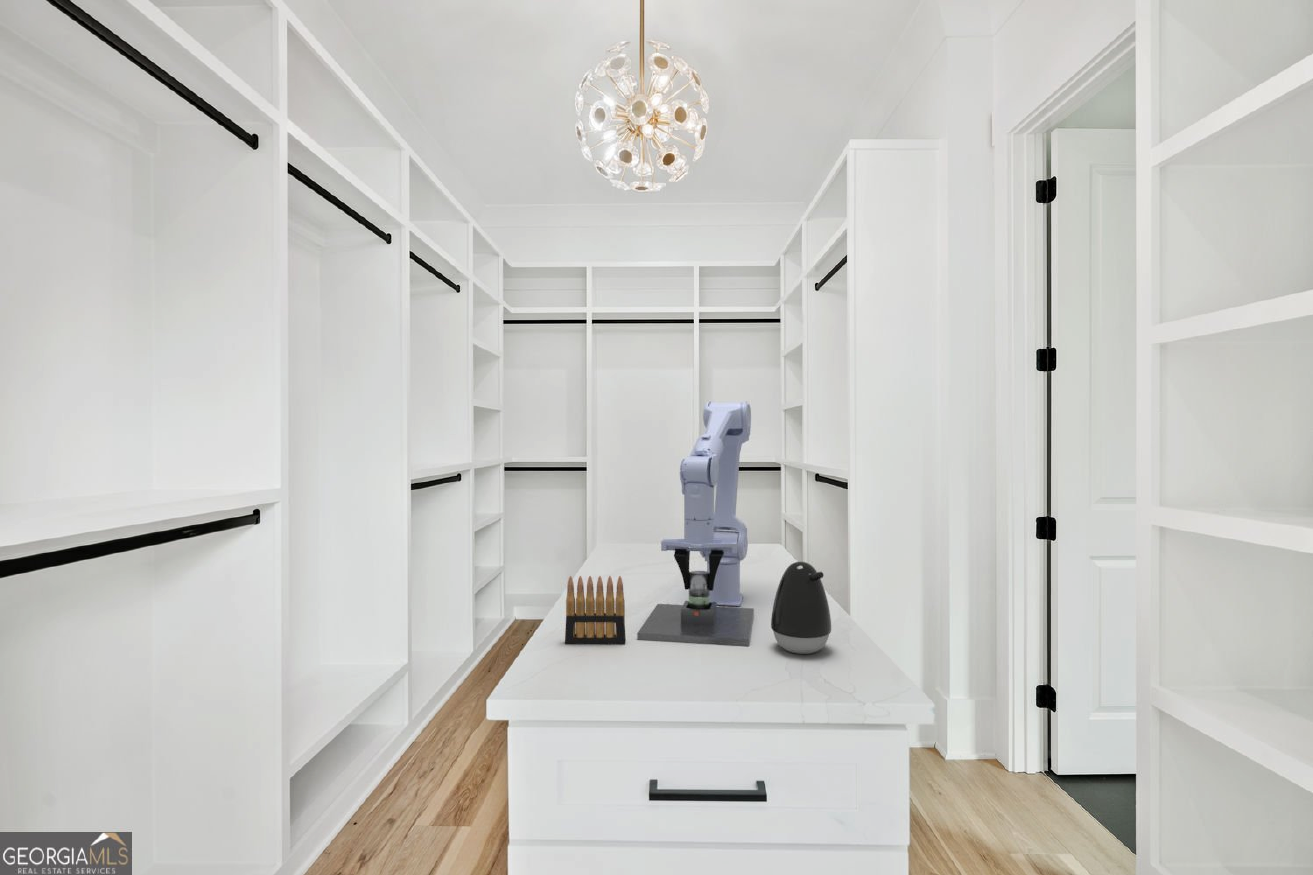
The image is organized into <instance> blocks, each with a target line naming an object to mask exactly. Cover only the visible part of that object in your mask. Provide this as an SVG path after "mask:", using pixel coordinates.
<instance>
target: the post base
mask: <svg viewBox="0 0 1313 875" xmlns="http://www.w3.org/2000/svg"><path fill="white" fill-rule="evenodd" d="M754 615H755V608H754V607H753V608H751V607H750V608H749V607H735V606H734V607H733V606H732V607H728V606H718V605H717V602H710V607H709V608H707V609H693V608H689V600H685V601H684V602H683V604H670V603H657V604H656V605H655V607H654V608H653V610H652V611H651V613H650V614H649V616H648V617H647V618H646V620H645V621H644V623H643V624H642V626H641V627H640V628H639V630H638V632H637V634H636V635H637V640H639V641H640V640H641V641H654V642H655V641H656V642H658V641H659V642H673V643H674V642H676V643H691V644H706V645H707V644H709V645H723V646H740V647H750V642H751V641H750V640H751V635H752V634H751V633H752V629H753V623H754Z"/></svg>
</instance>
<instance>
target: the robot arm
mask: <svg viewBox="0 0 1313 875" xmlns="http://www.w3.org/2000/svg"><path fill="white" fill-rule="evenodd" d="M702 413H703V415H702V418H703V425H704V427H705V432H704V433H703V434H701V435H699V436H698V437H697V439H696V441H695V443H694V446H693V448H692V450H691V452H690V454H689V455H687V456H686V457H685V458H682V459H681V462H680V464H679V465H680V467H679V468H680V469H679V478H680V480H679V481H680V483H681V493H682V495H683V510H684V511H683V513H684V514H683V518H684V519H683V521H684V523H683V524H684V525H683V526H684V528H683V532H684V533H683V534H684V535H683V537H684V538H676V539H675V538H674V539H673V538H672V539H671V538H670V539H669V538H668V539H666V538H663V539H662V540H661V541H660V543H661V544H660V545H661V546H660V550H661V552H667V551H674V554H673V557H674V560H675V562H676V564H677V566H678V568H679V570H680V574H681V577H682V581H683V586H684V590H686V591H687V590H688V591H689V572H690V555H691V552H699V554H700V556H701V558H703V559H704V562H706V572H709V573H710V575H709V591H710V602H717V606H732V607H733V606H734V607H735V606H737V607H741V605H742V601H743V597H744V593H742V592H741V561H744V560H745V558H746V557H747V554H748V544H749V543H748V528H747V526H746V524H745V523H744V522H743V521H742V520H740V519H739V518H738V517H737V516H736V512H737V500H738V498H737V497H738V487H739V483H738V482H739V472H740V471H739V470H740V469H739V468H740V456H741V455H740V454H741V450H742V446H743V444H744V443H746V442H748V441H749V440H750V435H751V427H752V426H751V425H752V408H751V405H750V403H749V402H748V401H747V400H744V401H720V402H719V401H718V402H717V401H716V402H714V401H713V402H712V401H707V402H706V403H705V405H704V407H703V412H702ZM715 486H716V489H715Z"/></svg>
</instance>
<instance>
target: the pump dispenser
mask: <svg viewBox="0 0 1313 875" xmlns="http://www.w3.org/2000/svg"><path fill="white" fill-rule="evenodd" d="M783 572H784V573H782V574H783V575H782V577H781V579H780V581H779V584H778V586H777V589H776V592H775V597H774V600H773V604H772V605H773V606H772V611H771V618H770V619H771V620H770V628H771V629H772V630H771V631H773V635H774V636H773V637H774V638H775V640H776V642H777V644H778V645H779V646H780V647H781V648H783V649H784V650H786V651H788V652H789V653H792V654H798V655H811V654H813V653H816V652H818V651H820V650H822V649H823V648H824V647H825V646H826V644H827V643H828V640H829V637H830V634H831V632H832V618H831V611H830V605H829V602H828V598H827V593H826V591H825V587H824V585H823V581H822V578H824V572H823V571H817V570H816V569H815V567H814V566H813V565H812V564H810V563H808V562H806V561H795V562H793V563H791V564H789V566H788V567H787V568H786V569H785V570H784V571H783Z"/></svg>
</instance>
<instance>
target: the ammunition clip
mask: <svg viewBox="0 0 1313 875" xmlns="http://www.w3.org/2000/svg"><path fill="white" fill-rule="evenodd" d="M566 588H567V589H566V590H567V591H566V600H565V630H564V631H565V633H564V635H565V637H564V644H565V645H583V646H585V645H587V646H589V645H593V646H594V645H598V646H599V645H601V646H602V645H605V646H606V645H607V646H608V645H611V646H612V645H619V646H620V645H621V646H623V645H626V641H627V640H626V621H625V620H626V619H625V617H626V613H625V612H626V611H625V610H626V609H625V606H626V604H625V596H624V582H623V578H622V576H621V575H619V576H618V579H617V582H616V593H614V583H613V579H612V577H611V575H609V576H608V579H607V582H606V593H605V594H606V595H604V583H603V579H602V577H601V575H599V576H598V578H597V582H596V596H595V593H594V592H595V591H594V582H593V577H592V576H591V575H589V576H588V579H587V584H586V598H585V592H584V591H585V587H584V582H583V577H582V575H579V577H578V580H577V586H576V597H575V585H574V580H573V577H572V576H571V575H570V576H569V578H568V581H567V587H566ZM614 594H616V595H614ZM604 596H605V597H604Z"/></svg>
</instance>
